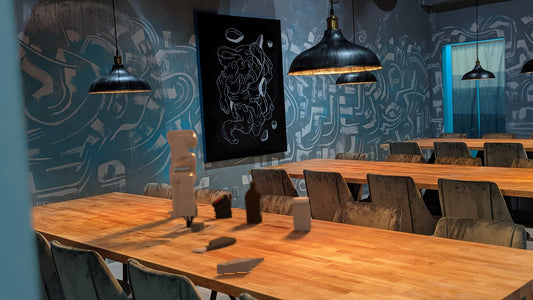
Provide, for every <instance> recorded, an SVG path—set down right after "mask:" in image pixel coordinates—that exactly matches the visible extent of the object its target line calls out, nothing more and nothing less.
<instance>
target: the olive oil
mask: <svg viewBox="0 0 533 300" xmlns="http://www.w3.org/2000/svg"><path fill="white" fill-rule="evenodd" d="M244 205H245V206H244V207H245V215H246V218H245V219H246V223H247V224H253V225H254V224H255V225H256V224H257V225H258V224H261V223H263V195H262V192H261V191H260V190H259V189H258V188H257V187H256V181H255V180H250V181H249V188H248V190H247V191H246V192H245V193H244Z"/></svg>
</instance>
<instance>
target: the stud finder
mask: <svg viewBox="0 0 533 300" xmlns="http://www.w3.org/2000/svg"><path fill="white" fill-rule="evenodd" d="M190 225H191V231H202V230H204V225H205V222H204V221H193V223H191V224H190Z"/></svg>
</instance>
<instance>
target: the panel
mask: <svg viewBox="0 0 533 300" xmlns="http://www.w3.org/2000/svg"><path fill="white" fill-rule="evenodd" d="M219 227H221V224H204V230H202V231H191V228H187V226H186V223H177V224H174V225H172V226H170V227H168V228H165V229H163V230H162V232H171V233H173V232H175V233H176V232H177V233H197V234H196V235H197V236H202V235H204V236H205V235H207V233H209V232H211V231H213V230H215V229H217V228H219Z"/></svg>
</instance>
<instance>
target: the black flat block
mask: <svg viewBox="0 0 533 300" xmlns="http://www.w3.org/2000/svg"><path fill="white" fill-rule="evenodd" d="M231 205H232V202H230V200H229V196H228V195H227V194H222V195H220V196H219V197H218V198H216V200H214V201H213V202H211V207H213V209H214V210H213V212H214V218H215V219H216V220H225V219H229V218H233V211H232V207H231Z"/></svg>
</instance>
